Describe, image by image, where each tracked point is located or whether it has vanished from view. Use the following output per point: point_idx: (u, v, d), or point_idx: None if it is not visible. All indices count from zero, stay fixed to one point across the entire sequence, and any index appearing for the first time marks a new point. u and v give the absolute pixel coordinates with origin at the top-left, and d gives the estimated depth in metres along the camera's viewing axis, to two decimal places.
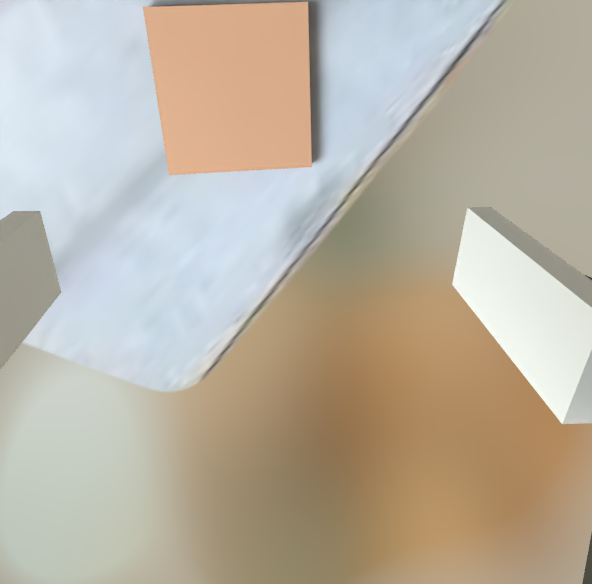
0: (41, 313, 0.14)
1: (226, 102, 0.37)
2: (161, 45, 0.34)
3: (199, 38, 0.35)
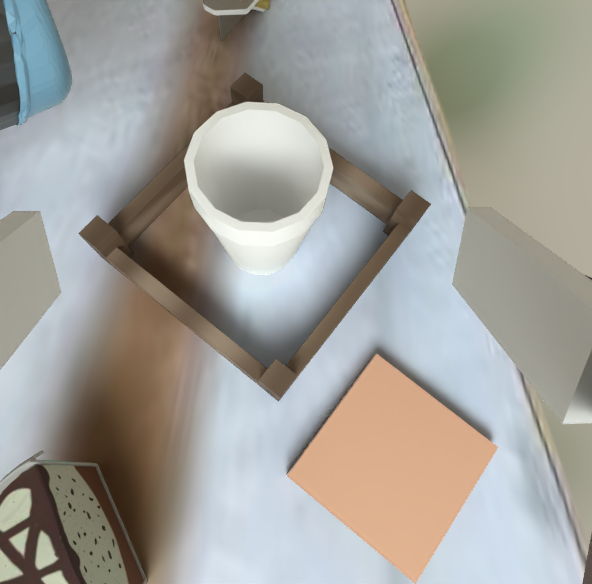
0: (41, 313, 0.14)
1: (396, 474, 0.36)
2: (320, 487, 0.35)
3: (338, 452, 0.36)
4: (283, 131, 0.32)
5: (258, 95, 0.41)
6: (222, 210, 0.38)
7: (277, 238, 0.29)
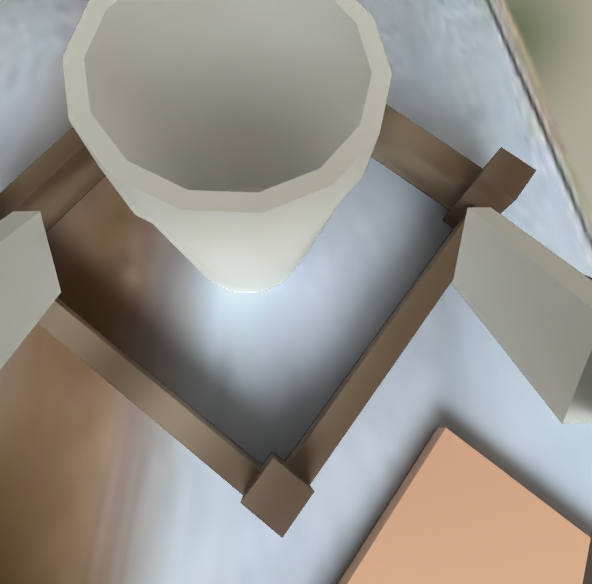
0: (41, 313, 0.14)
1: None
2: None
3: None
4: (281, 14, 0.16)
5: None
6: (177, 184, 0.22)
7: (272, 228, 0.13)
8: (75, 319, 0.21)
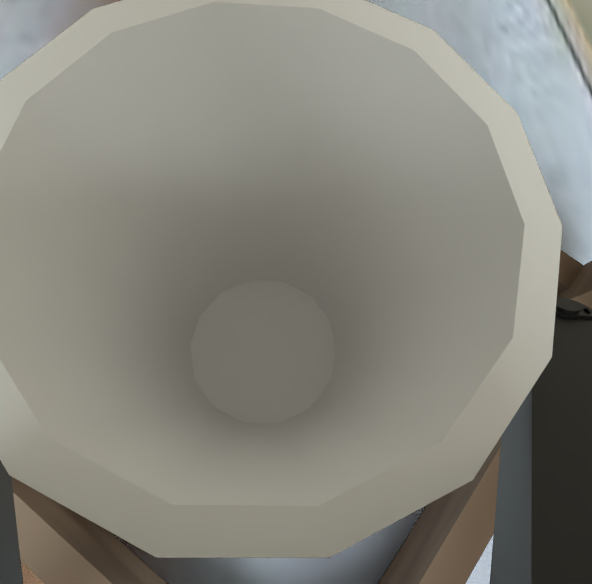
0: None
1: None
2: None
3: None
4: (337, 90, 0.10)
5: None
6: (167, 303, 0.15)
7: None
8: (20, 500, 0.15)
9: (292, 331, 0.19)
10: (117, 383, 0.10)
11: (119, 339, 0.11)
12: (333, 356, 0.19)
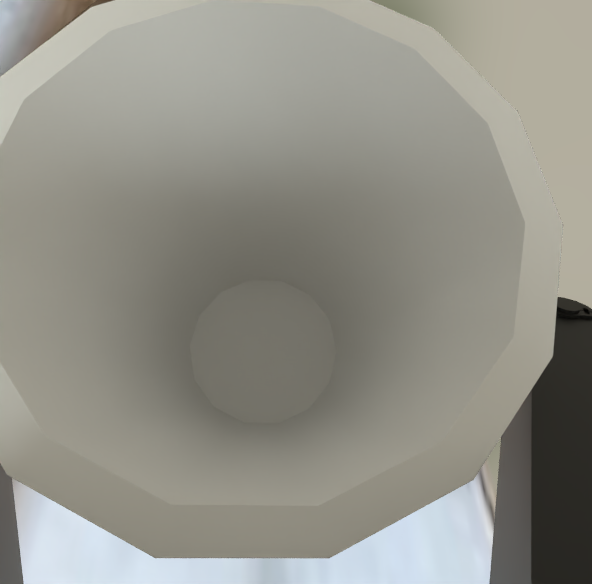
0: None
1: None
2: None
3: None
4: (337, 89, 0.10)
5: None
6: (167, 303, 0.15)
7: None
8: None
9: (292, 331, 0.19)
10: (116, 383, 0.10)
11: (118, 338, 0.11)
12: (333, 356, 0.19)
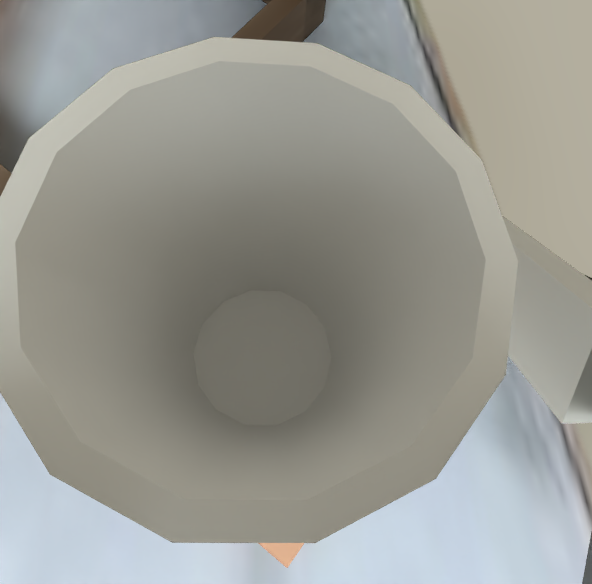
0: None
1: None
2: None
3: None
4: (327, 131, 0.11)
5: None
6: (173, 314, 0.16)
7: None
8: None
9: (289, 338, 0.20)
10: (131, 392, 0.11)
11: (131, 350, 0.12)
12: (328, 362, 0.20)
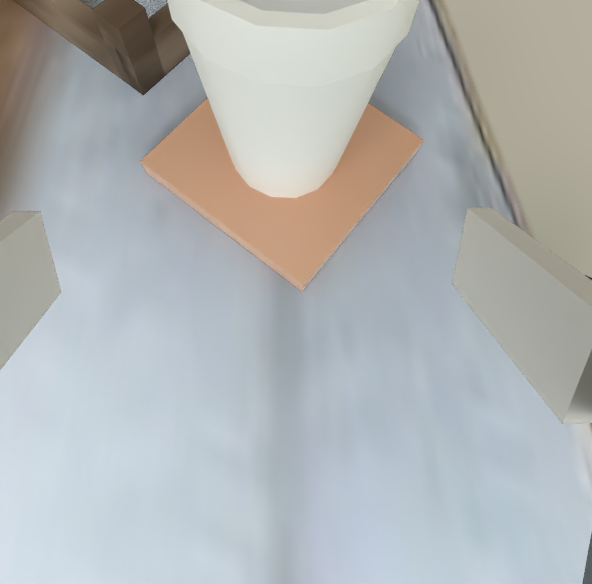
0: (41, 313, 0.14)
1: None
2: (183, 174, 0.27)
3: (211, 138, 0.27)
4: None
5: None
6: None
7: (331, 61, 0.15)
8: None
9: None
10: None
11: None
12: None
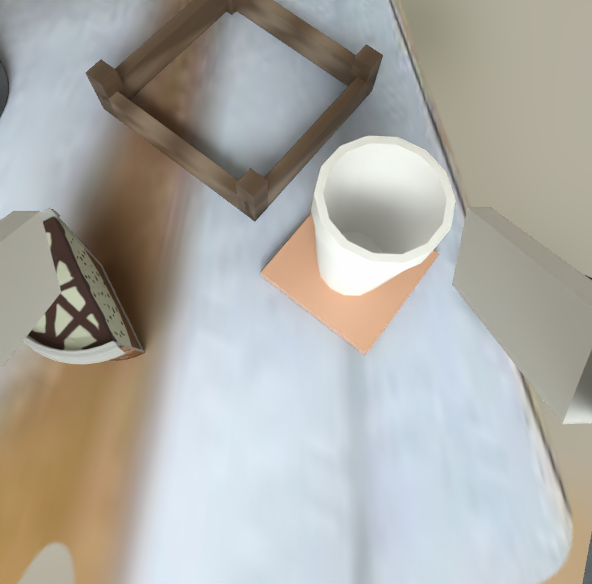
0: (41, 313, 0.14)
1: None
2: (288, 280, 0.42)
3: (304, 255, 0.43)
4: (398, 162, 0.33)
5: None
6: None
7: (402, 267, 0.31)
8: (157, 121, 0.44)
9: None
10: None
11: None
12: None
